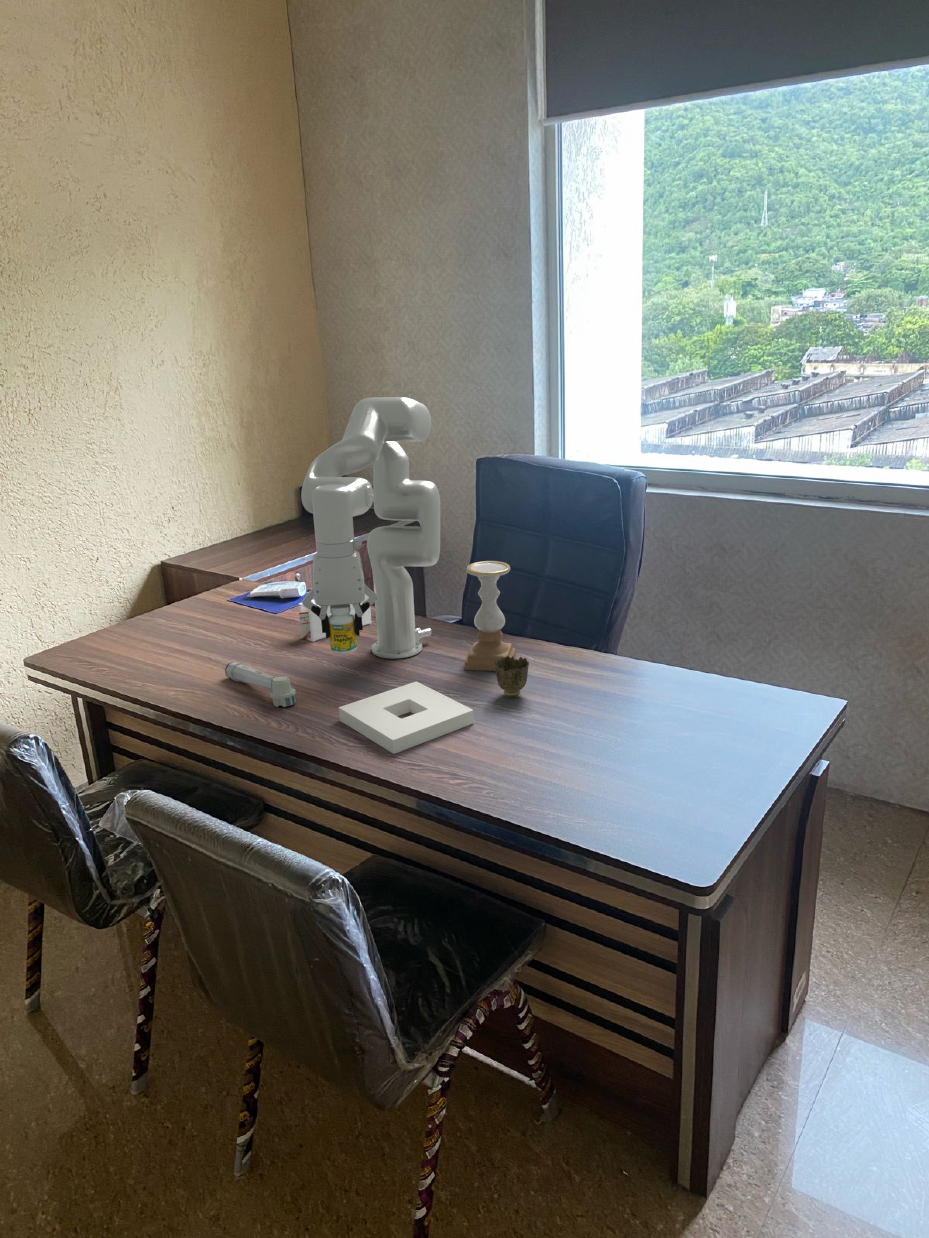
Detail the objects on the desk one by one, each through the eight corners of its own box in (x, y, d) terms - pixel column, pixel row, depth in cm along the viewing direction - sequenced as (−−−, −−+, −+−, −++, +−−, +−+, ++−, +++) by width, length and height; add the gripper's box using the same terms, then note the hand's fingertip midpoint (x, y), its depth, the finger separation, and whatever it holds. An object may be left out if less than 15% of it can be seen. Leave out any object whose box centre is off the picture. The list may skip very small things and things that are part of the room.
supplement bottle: (356, 644, 189) (352, 600, 186) (358, 653, 184) (354, 608, 181) (330, 646, 189) (326, 602, 185) (331, 656, 184) (327, 611, 180)
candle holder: (472, 652, 225) (469, 559, 217) (516, 654, 223) (515, 560, 215) (463, 669, 215) (460, 572, 207) (510, 672, 213) (508, 574, 205)
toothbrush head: (240, 658, 216) (297, 672, 198) (245, 685, 218) (302, 701, 200) (220, 664, 213) (276, 679, 195) (225, 691, 215) (282, 709, 196)
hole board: (416, 693, 203) (416, 681, 202) (473, 723, 188) (473, 709, 187) (339, 720, 191) (338, 707, 190) (393, 753, 177) (392, 740, 176)
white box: (359, 619, 252) (356, 587, 248) (371, 624, 248) (369, 591, 244) (297, 638, 239) (294, 604, 236) (309, 643, 235) (306, 609, 232)
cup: (534, 691, 202) (533, 657, 200) (521, 704, 196) (521, 670, 193) (503, 686, 205) (502, 653, 203) (490, 699, 199) (489, 665, 196)
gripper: (378, 540, 184) (384, 625, 190) (292, 546, 182) (301, 631, 188) (380, 550, 177) (385, 638, 183) (290, 556, 175) (299, 644, 181)
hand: (342, 633), depth 185 cm, fingers closed on supplement bottle, 5 cm apart
